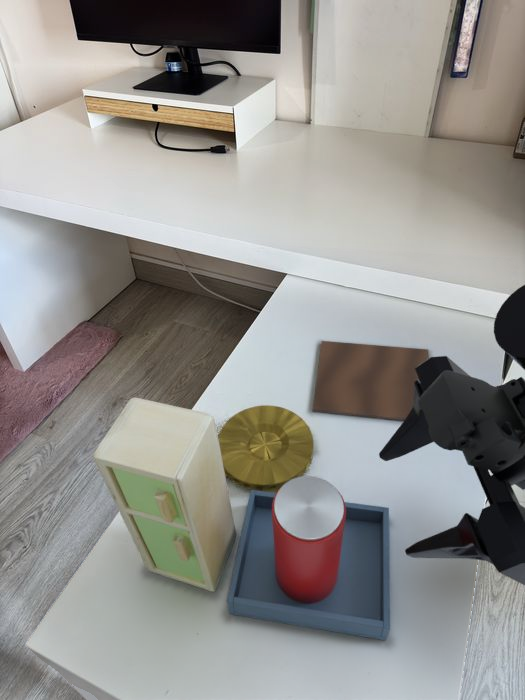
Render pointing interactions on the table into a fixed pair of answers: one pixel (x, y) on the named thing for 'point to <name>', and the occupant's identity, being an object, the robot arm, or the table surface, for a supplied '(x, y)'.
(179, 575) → the toy refrigerator
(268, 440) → the gold round disc
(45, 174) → the table surface
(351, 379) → the walnut board
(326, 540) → the can
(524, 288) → the robot arm
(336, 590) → the tray
